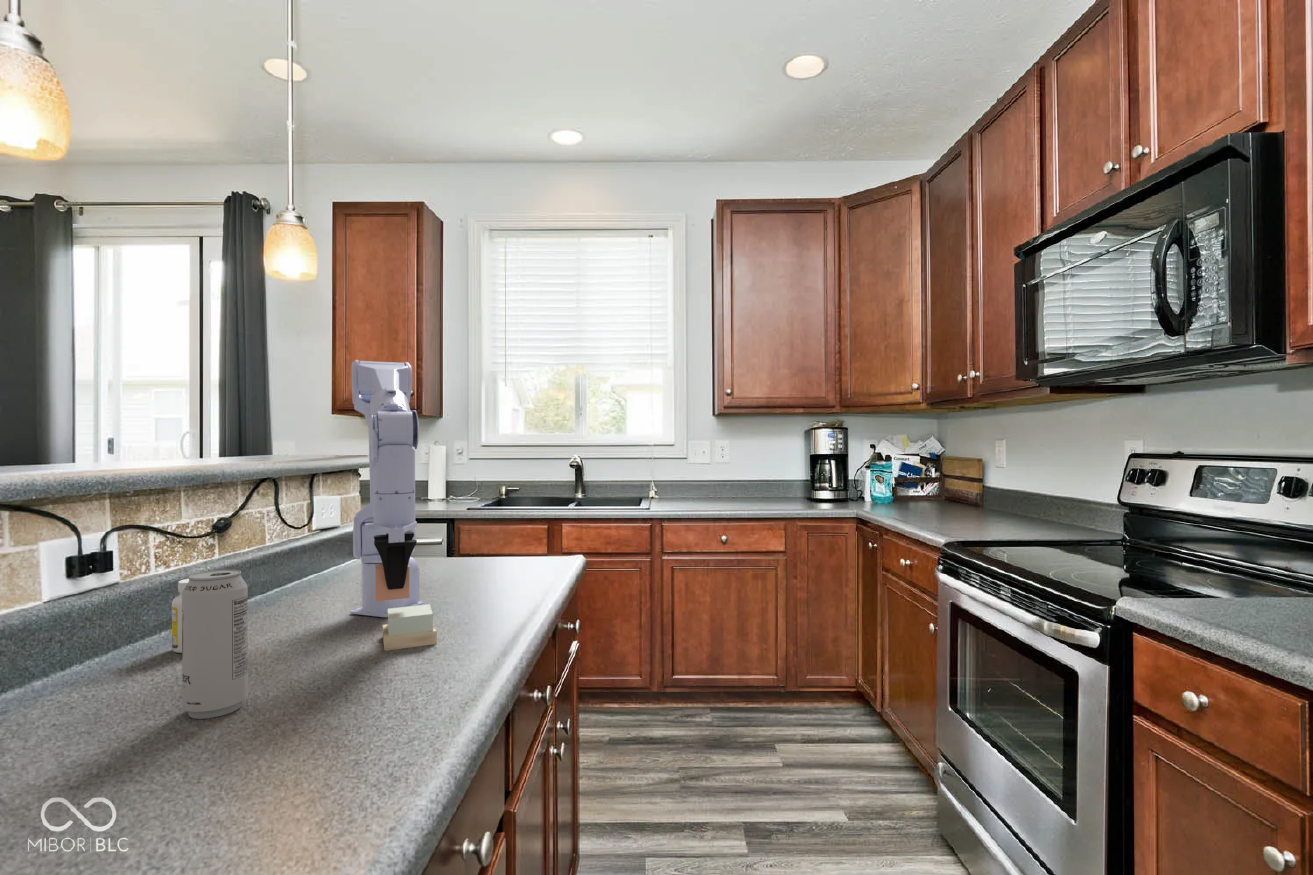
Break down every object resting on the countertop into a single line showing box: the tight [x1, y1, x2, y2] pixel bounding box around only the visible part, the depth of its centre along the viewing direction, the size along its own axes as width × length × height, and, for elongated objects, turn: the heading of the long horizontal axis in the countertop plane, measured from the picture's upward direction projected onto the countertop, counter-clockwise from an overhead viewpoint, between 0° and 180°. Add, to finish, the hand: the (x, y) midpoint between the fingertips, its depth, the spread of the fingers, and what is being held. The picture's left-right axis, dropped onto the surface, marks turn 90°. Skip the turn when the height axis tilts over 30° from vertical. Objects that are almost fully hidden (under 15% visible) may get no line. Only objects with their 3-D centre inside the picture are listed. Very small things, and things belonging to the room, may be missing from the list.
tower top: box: [387, 603, 434, 636], centre depth 96 cm, size 6×6×2 cm
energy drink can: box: [181, 569, 249, 720], centre depth 72 cm, size 6×6×15 cm
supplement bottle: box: [171, 578, 189, 654], centre depth 93 cm, size 5×5×10 cm
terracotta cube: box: [375, 564, 410, 601], centre depth 95 cm, size 4×4×4 cm
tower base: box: [382, 623, 438, 651], centre depth 96 cm, size 7×7×2 cm
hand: (395, 584), depth 95 cm, fingers closed on terracotta cube, 4 cm apart
